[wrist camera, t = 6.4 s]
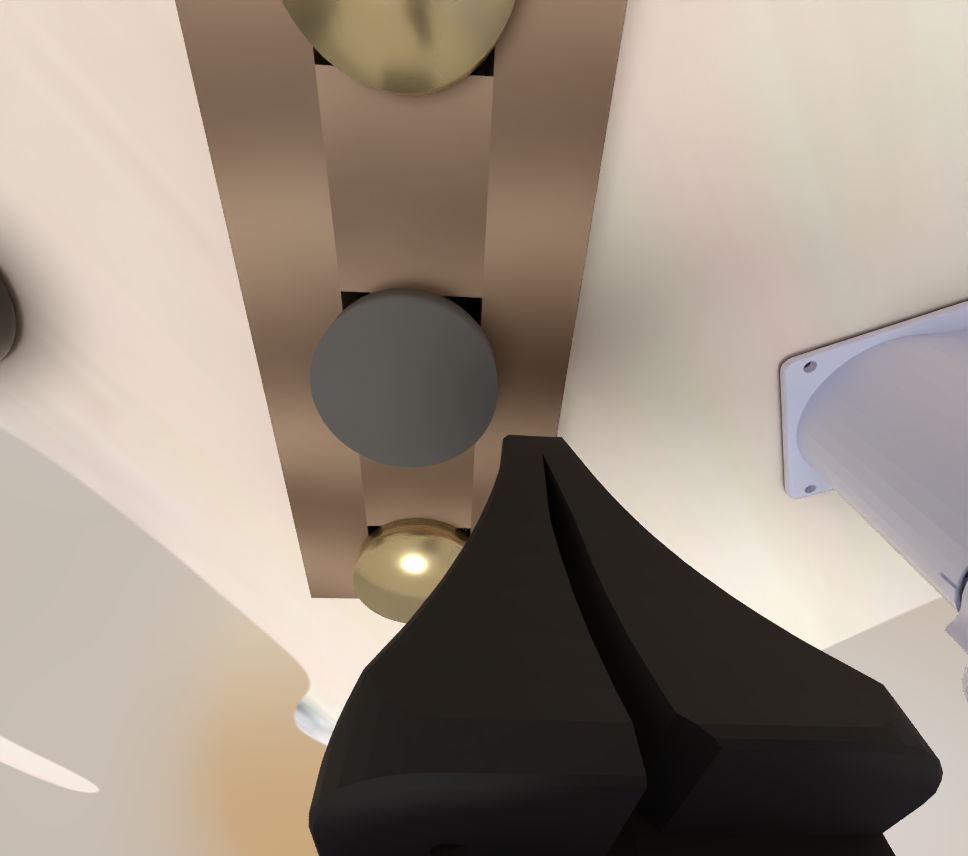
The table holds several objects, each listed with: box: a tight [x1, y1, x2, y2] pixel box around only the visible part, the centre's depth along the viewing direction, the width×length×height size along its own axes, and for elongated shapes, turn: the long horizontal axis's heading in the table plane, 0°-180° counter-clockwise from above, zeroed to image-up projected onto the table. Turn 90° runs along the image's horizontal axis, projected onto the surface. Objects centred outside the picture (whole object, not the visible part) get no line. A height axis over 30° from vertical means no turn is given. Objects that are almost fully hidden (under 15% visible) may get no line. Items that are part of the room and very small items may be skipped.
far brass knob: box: [353, 518, 469, 623], centre depth 21 cm, size 5×5×5 cm
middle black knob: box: [310, 288, 498, 467], centre depth 15 cm, size 5×5×5 cm
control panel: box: [175, 0, 627, 599], centre depth 17 cm, size 24×10×4 cm, turn 177°
